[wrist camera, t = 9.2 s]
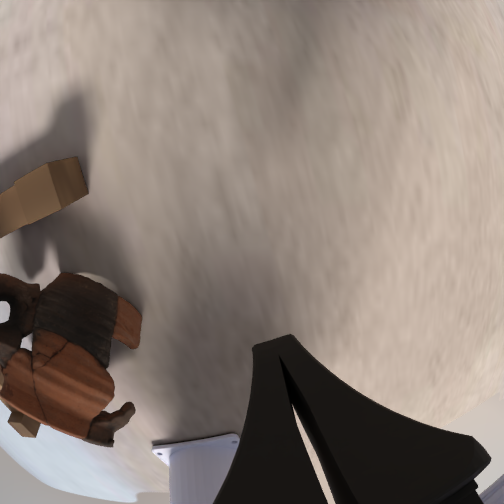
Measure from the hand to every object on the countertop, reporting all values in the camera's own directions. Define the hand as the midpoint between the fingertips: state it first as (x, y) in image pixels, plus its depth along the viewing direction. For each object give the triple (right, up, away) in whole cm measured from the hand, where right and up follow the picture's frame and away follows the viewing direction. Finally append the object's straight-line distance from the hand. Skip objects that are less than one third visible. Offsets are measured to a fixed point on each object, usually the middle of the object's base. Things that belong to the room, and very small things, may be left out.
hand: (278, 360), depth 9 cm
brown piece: (-12, -1, +6) cm, 14 cm away
